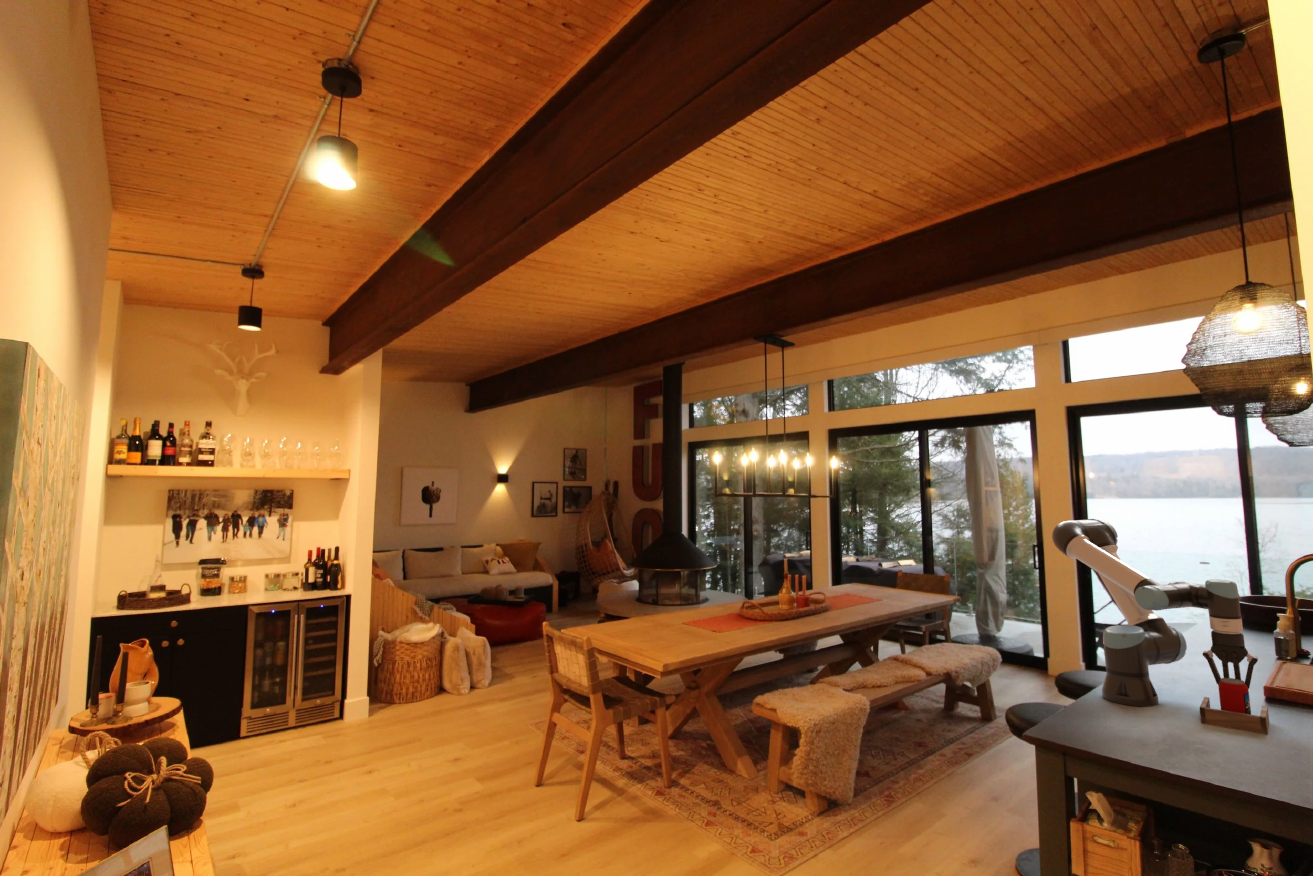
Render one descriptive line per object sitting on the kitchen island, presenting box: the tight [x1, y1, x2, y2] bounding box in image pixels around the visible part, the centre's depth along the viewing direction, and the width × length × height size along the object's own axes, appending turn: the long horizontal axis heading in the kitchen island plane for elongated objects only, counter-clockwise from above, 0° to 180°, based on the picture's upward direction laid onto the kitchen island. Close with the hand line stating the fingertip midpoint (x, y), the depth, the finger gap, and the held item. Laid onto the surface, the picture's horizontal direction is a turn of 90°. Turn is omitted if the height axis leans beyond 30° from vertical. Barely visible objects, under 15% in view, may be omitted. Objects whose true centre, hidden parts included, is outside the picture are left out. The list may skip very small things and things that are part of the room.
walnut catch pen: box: [1199, 696, 1270, 735], centre depth 190 cm, size 13×14×4 cm
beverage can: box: [1217, 677, 1252, 715], centre depth 191 cm, size 7×7×12 cm
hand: (1236, 710), depth 195 cm, fingers closed
